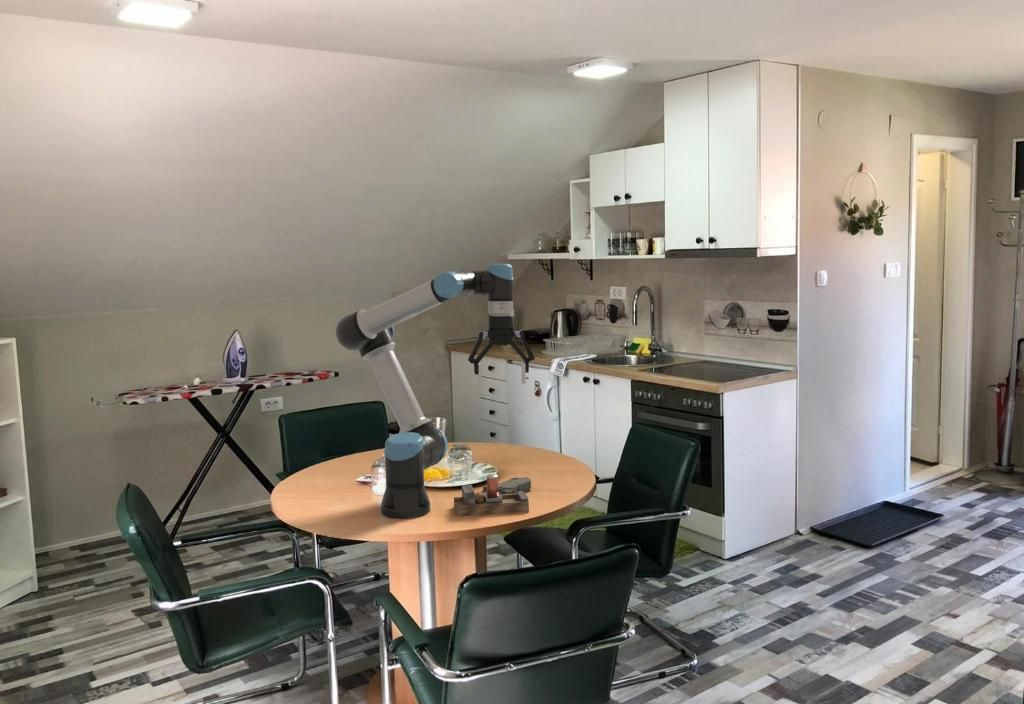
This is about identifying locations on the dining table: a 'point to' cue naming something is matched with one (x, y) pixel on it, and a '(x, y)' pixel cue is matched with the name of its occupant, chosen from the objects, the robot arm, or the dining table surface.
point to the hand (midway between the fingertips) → (501, 384)
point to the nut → (479, 498)
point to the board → (489, 504)
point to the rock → (513, 486)
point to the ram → (492, 490)
